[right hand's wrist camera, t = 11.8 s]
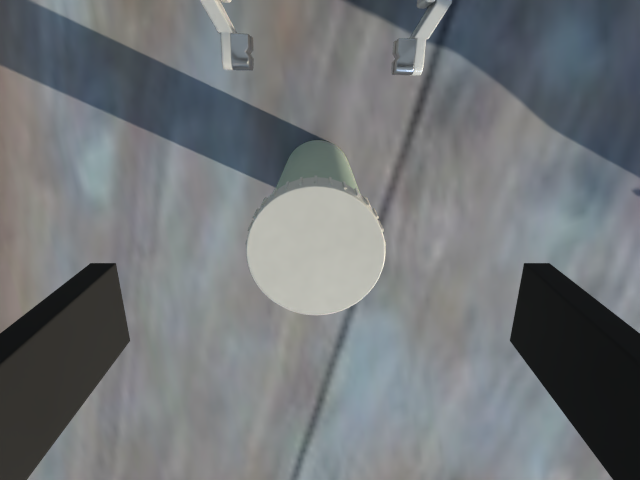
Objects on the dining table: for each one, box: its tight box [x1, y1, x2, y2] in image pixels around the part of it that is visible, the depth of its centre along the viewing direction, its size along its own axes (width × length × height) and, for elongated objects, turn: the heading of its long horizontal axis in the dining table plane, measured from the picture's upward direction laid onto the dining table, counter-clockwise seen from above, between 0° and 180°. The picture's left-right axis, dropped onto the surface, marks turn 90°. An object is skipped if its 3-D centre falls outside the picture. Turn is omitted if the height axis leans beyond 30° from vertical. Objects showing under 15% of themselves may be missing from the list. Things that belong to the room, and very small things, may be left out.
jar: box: [276, 140, 360, 193], centre depth 25 cm, size 5×5×16 cm
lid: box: [246, 175, 386, 315], centre depth 17 cm, size 6×6×2 cm
